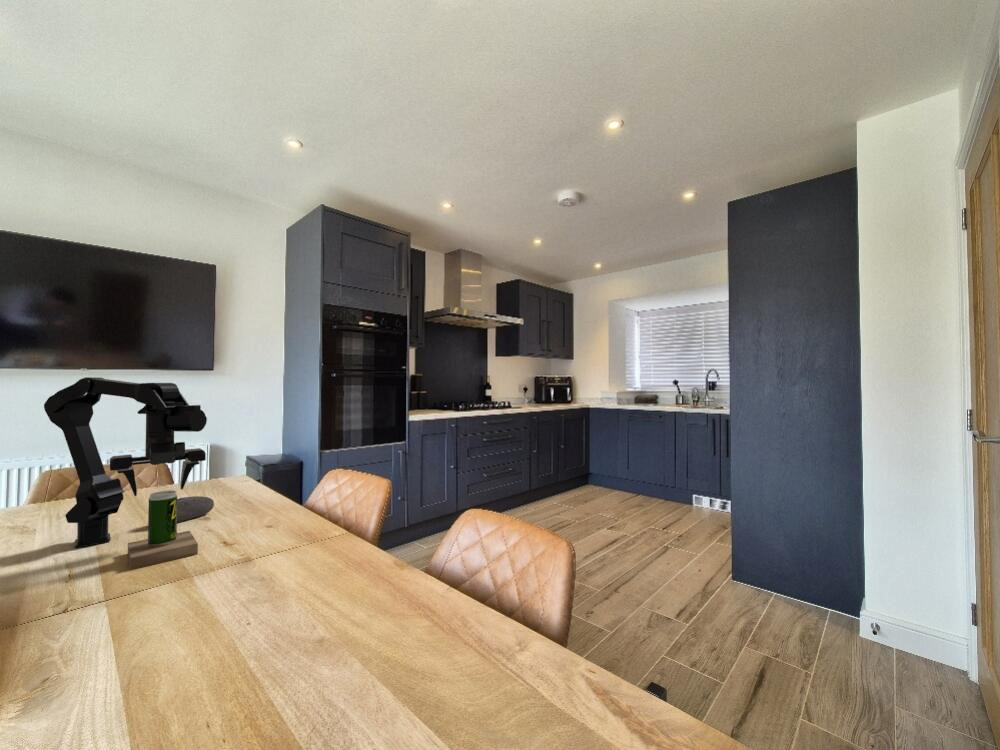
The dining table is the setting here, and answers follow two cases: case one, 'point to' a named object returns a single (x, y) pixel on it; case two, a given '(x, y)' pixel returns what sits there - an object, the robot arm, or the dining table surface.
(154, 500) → the beer can
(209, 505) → the perforated stone tool
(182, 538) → the walnut block
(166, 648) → the dining table surface
